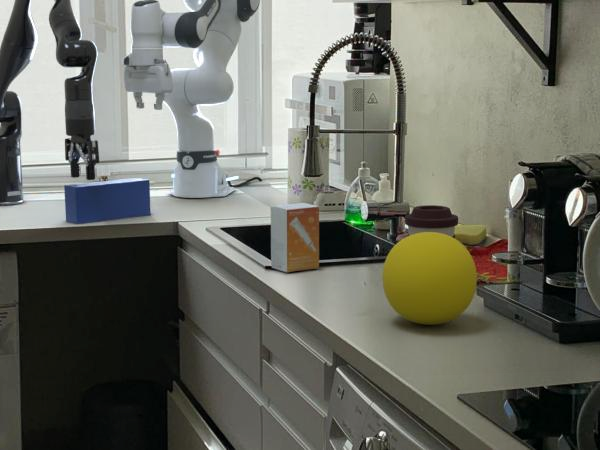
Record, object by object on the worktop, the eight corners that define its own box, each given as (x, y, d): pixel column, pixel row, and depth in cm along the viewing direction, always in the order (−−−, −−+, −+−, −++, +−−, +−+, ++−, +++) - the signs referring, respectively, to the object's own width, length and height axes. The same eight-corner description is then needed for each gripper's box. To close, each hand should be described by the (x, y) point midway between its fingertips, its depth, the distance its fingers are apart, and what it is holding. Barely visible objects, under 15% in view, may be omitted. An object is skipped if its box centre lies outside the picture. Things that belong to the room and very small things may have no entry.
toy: (446, 307, 181) (447, 222, 179) (492, 329, 167) (494, 237, 165) (367, 316, 176) (367, 228, 174) (408, 339, 162) (408, 244, 160)
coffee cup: (400, 280, 202) (400, 204, 200) (450, 279, 203) (451, 203, 201) (409, 292, 193) (410, 212, 190) (462, 291, 193) (463, 211, 191)
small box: (287, 273, 210) (286, 209, 208) (270, 268, 216) (269, 205, 213) (320, 268, 215) (319, 205, 213) (303, 263, 220) (302, 202, 218)
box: (77, 224, 274) (75, 187, 272) (65, 221, 279) (64, 185, 277) (150, 214, 288) (149, 179, 286) (138, 212, 293) (137, 177, 291)
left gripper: (106, 117, 271) (108, 179, 274) (79, 115, 282) (82, 175, 284) (79, 118, 266) (83, 182, 269) (54, 117, 277) (57, 177, 280)
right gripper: (177, 59, 285) (179, 110, 288) (138, 59, 301) (140, 107, 303) (157, 59, 281) (159, 111, 284) (119, 59, 297) (121, 108, 299)
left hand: (82, 178), depth 277 cm, fingers open, 8 cm apart
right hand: (149, 109), depth 293 cm, fingers open, 8 cm apart
